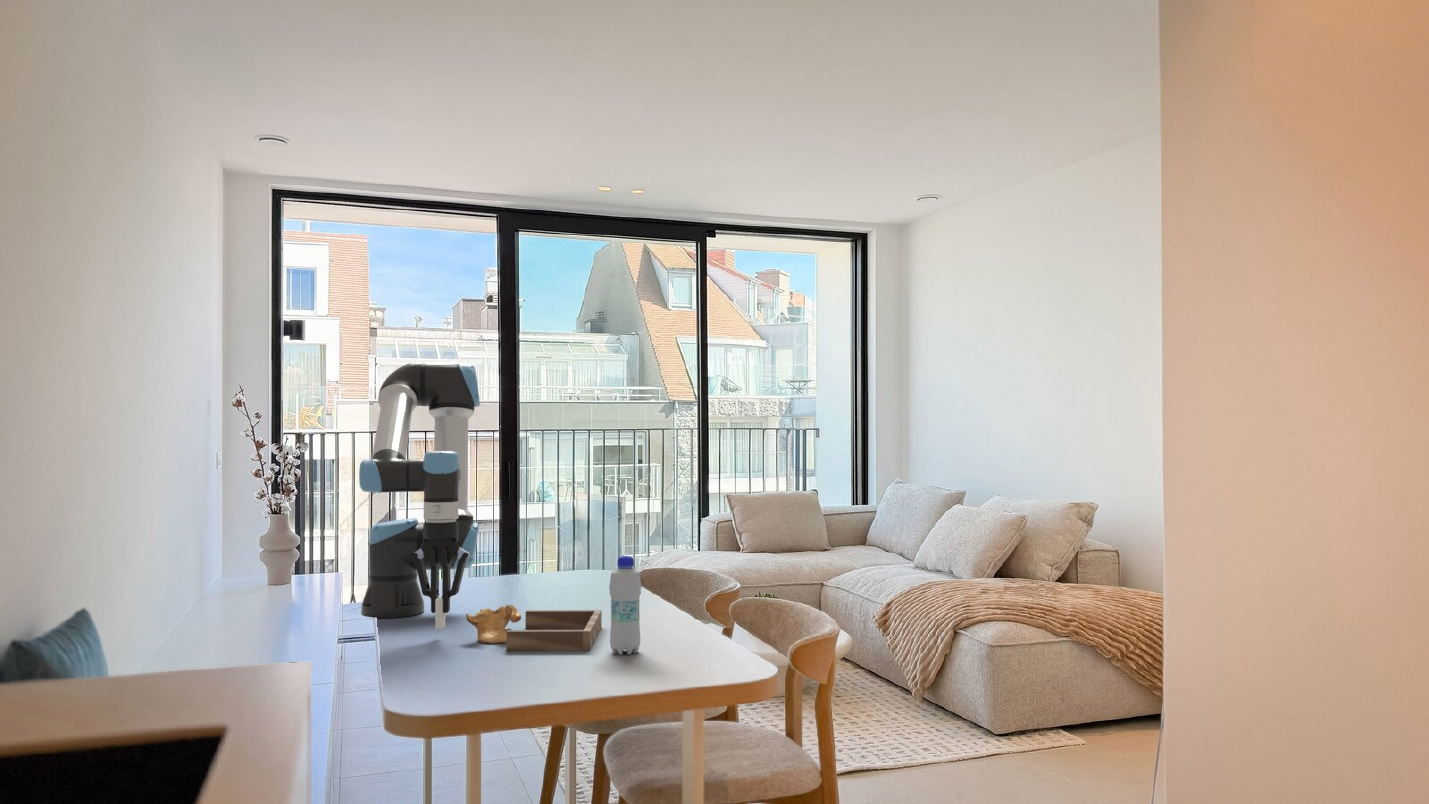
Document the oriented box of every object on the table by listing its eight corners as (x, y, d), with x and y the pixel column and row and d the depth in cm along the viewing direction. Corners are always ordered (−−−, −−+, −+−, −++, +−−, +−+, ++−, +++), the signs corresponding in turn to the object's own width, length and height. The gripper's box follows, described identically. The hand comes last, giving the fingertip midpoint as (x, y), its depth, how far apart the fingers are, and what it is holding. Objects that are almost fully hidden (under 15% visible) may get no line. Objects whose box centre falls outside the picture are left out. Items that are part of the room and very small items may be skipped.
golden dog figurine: (516, 634, 222) (516, 597, 222) (528, 642, 213) (528, 603, 214) (462, 639, 217) (463, 601, 217) (472, 648, 208) (473, 608, 208)
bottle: (646, 650, 205) (646, 554, 206) (633, 657, 199) (633, 558, 200) (617, 647, 208) (617, 553, 208) (603, 654, 201) (603, 557, 202)
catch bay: (526, 627, 229) (526, 610, 229) (601, 627, 229) (601, 610, 229) (506, 650, 205) (506, 631, 205) (590, 650, 205) (590, 631, 205)
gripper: (406, 522, 213) (405, 631, 213) (466, 522, 213) (465, 631, 213) (416, 519, 221) (415, 624, 220) (474, 519, 221) (473, 624, 220)
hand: (440, 627), depth 216 cm, fingers closed
